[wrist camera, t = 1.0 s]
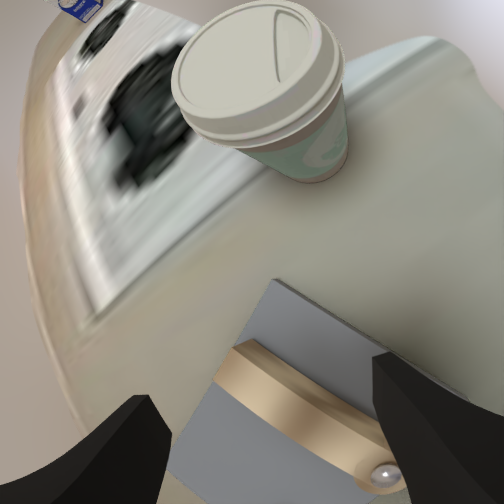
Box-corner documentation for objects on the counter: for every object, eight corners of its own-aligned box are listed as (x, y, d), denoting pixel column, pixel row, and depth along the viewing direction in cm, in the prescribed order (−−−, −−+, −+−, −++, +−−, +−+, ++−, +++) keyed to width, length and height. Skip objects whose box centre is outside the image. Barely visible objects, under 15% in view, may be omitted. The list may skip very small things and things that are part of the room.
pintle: (407, 470, 12) (407, 473, 12) (387, 488, 12) (386, 492, 12) (385, 458, 13) (384, 462, 13) (364, 477, 13) (364, 480, 13)
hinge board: (466, 396, 15) (469, 402, 14) (289, 547, 18) (286, 552, 17) (276, 278, 22) (272, 279, 21) (167, 460, 25) (161, 464, 25)
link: (429, 440, 14) (433, 462, 12) (390, 478, 15) (387, 502, 12) (256, 331, 21) (236, 338, 18) (229, 374, 21) (208, 386, 19)
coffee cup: (331, 222, 20) (266, 162, 9) (242, 172, 24) (136, 107, 13) (384, 126, 19) (366, 5, 8) (292, 90, 22) (222, -8, 11)
